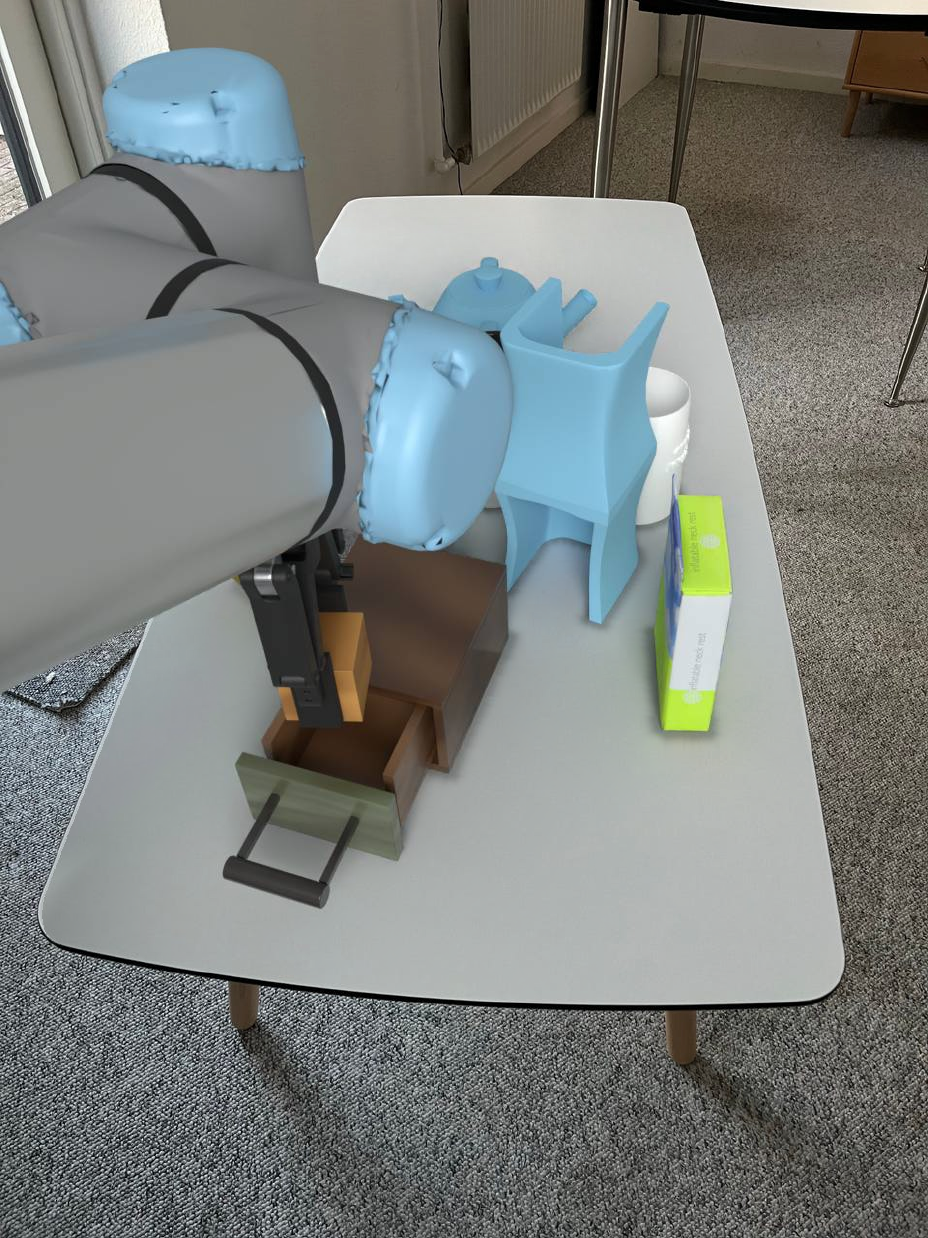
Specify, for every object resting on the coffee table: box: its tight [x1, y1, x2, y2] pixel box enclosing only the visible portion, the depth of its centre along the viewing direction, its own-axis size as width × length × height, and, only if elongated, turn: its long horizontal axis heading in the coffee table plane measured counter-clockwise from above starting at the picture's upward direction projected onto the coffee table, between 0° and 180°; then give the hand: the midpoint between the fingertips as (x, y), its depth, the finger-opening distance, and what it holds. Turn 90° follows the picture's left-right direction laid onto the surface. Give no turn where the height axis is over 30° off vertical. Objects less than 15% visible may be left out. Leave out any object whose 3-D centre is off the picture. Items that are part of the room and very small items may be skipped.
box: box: [653, 473, 734, 732], centre depth 80 cm, size 10×4×17 cm, turn 176°
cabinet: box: [337, 534, 509, 775], centre depth 84 cm, size 15×13×9 cm
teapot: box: [387, 256, 598, 339], centre depth 114 cm, size 15×17×11 cm
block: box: [276, 612, 372, 722], centre depth 69 cm, size 5×5×5 cm
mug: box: [636, 366, 692, 526], centre depth 99 cm, size 8×12×12 cm
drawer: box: [222, 691, 437, 910], centre depth 76 cm, size 20×11×7 cm, turn 160°
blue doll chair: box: [495, 276, 670, 625], centre depth 86 cm, size 10×10×25 cm
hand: (328, 688), depth 71 cm, fingers closed on block, 5 cm apart
